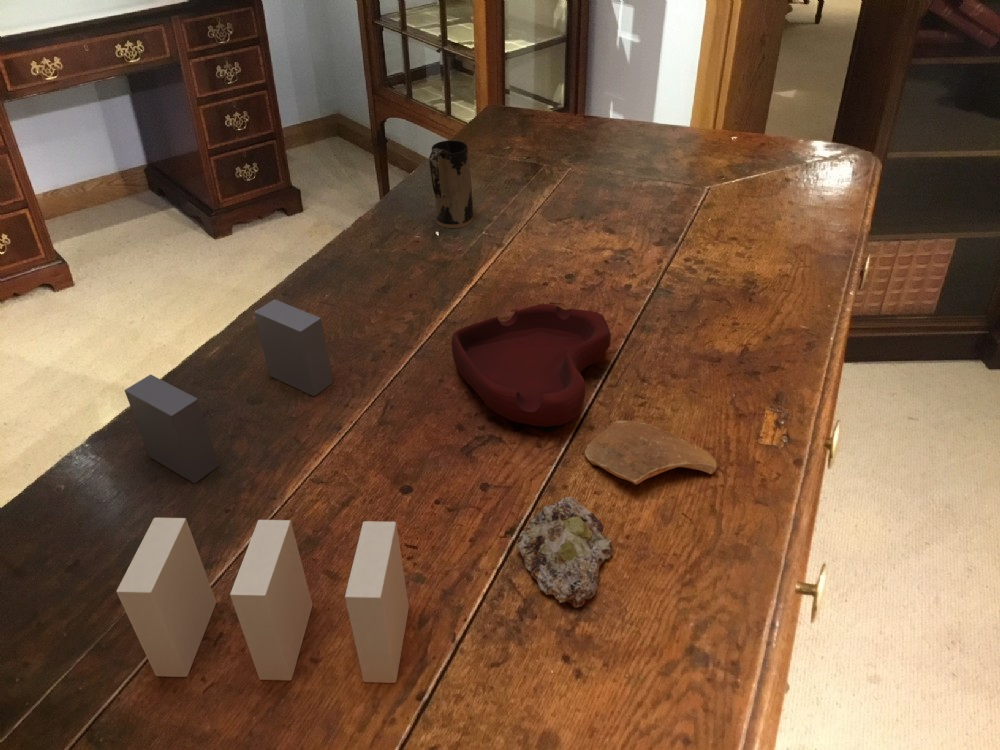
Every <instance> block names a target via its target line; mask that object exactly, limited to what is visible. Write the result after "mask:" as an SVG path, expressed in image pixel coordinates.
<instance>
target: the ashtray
mask: <svg viewBox="0 0 1000 750" xmlns="http://www.w3.org/2000/svg"><path fill="white" fill-rule="evenodd" d="M611 339H612V335H611V331H610V327H609V325H608V322H607V320H606V318H605V317H604V315H603V314H601V313H599V312H597V311H594V310H593V311H592V310H586V309H577V308H570V309H564V308H561V307H560V306H559V305H554V304H549V303H539V304H535V305H532V306H528V307H525V308H520V309H518V310H515V311H514V312H513V314H512V316H511V318H509V319H508V320H505V321H501V320H500V319H499V317H498V316H493V317H491V318H487V319H484V320H482V321H478V322H476V323H473V324H470V325H467V326H465V327H461V328H460V329H457V330H456V331H454V332H453V333H452V336H451V352H452V359H453V362H454V365H455V368H456V370H457V372H458V374H459V376H461V377H462V379H463V380H464V381H465V382H466V383H467V384H468V385H469V386H470V387H471V388H472V390H473V391H474V392H475V394H477V395H478V396H479V397H480V398H481V400H482V401H483V403H484V404H485V405H486V407H488V408H489V409H490V410H491V411H493V412H494V413H496V414H498V415H499V416H501V417H503V418H505V419H507V420H509V421H512V422H514V423H518V424H524V425H530V426H534V428H535V429H537V430H538V431H541V432H546V433H548V432H554V431H557V430H559V429H561V426H562V425H564V424H566V423H568V422H570V421H572V420H573V419H575V418H576V417H577V416H578V415H579V413H580V412H581V410H582V409H583V406H584V401H585V398H586V382H585V379H584V377H583V376H582V374H581V373H582V372H583V371H584V369H586V368H587V367H589V366H591V365H593V364H595V363H597V362H598V361H599V360H601V359H602V358H603V356H605V354H606V353H607V351H608V350H609V348H610V346H611Z"/></svg>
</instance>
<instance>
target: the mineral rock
mask: <svg viewBox="0 0 1000 750" xmlns="http://www.w3.org/2000/svg"><path fill="white" fill-rule="evenodd" d="M604 528H605V527H604V524H603V522H602V521H601V520H599V519H598V518H597V516H596V515H595V514H594V512H590V511H589V510H588V508H586V506H584V505H583V504H581V503H580V502H579V501H578V500H577V499H576V498H575V497H573V496H567V497H565V496H564V497H563V498H562V499H561V500H559V501H557V502H554V503H553V504H552V505H548V506H544V507H542V509H541V510H540V511H539V512H538V513H537V514H536V515H535V516H534V517H533V518H531V519H530V521H528V526H526V529H525V530H522V531H521V532H520V534H519V538H520V541H519V542H518V543H517V544H516V545H515V547H516V550H517V551H518V552H519V554H520V557H521V558H522V559H523V563H524V565H525V568H526V569H527V571H528V572H529V575H530V576H531V577H532V578H533V579H535V581H536V583H537V587H538V588H539V590H540V592H543V593H544V594H545V596H548V595H549V596H550V595H552V596H554V598H555V599H556V600H557V601H558V602H559V604H564V603H569V604H570V605H571V606H572V607H573V608H574V609H578V608H580V607H583V605H584V604H585V603H586V600H591V599H592V598H593V597H594V596H595V595H596V594H597V591H598V588H599V587H598V585H599V583H600V567H601V565H602V564H603V563H604V562H605V561H606V560H608V559H611V557H612V556H611V555H612V554H613V552H614V548H613V545H612V543H613V540H611V539H610V538H608V537H607V536H605V535H604V534H603V532H604Z"/></svg>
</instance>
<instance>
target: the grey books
mask: <svg viewBox="0 0 1000 750" xmlns="http://www.w3.org/2000/svg"><path fill="white" fill-rule="evenodd" d="M253 314H254V319H255V322H256V327H257V331H258V334H259V339H260V343H261V347H262V351H263V354H264V359H265V363H266V367H267V372H268V375H269V377H271V378H273V379H275V380H278V381H279V382H281V383H284V384H286V385H288V386H290V387H292V388H295V389H297V390H299V391H301V392H302V393H305V394H307V395H309V396H311V397H315V396H317V395H318V394H320V393H321V392H323V391H324V390H325V389H327V388H328V387H330V386H331V385H332V384H333V383H334V379H333V374H332V369H331V364H330V358H329V354H328V348H327V343H326V336H325V332H324V326H323V321H322V318H321V317H319V316H317V315H315V314H312V313H309V312H307V311H305V310H303V309H300V308H298V307H295V306H293V305H290V304H287V303H285V302H283V301H280V300H278V299H276V298H275V299H273V300H271V301H269V302H268V303H266V304H264V305H263V306H261V307H259V308H258V309H256V310H255V311H253ZM124 394H125V395H126V398H127V401H128V405H129V406H130V410H131V412H132V415H133V417H134V420H135V422H136V425H137V428H138V429H139V433H140V435H141V438H142V441H143V444H144V447H145V448H146V452H147V454H148V457H149V458H151V459H152V460H153V461H155V462H157V463H158V464H160V465H161V466H164V467H166V468H167V469H169V470H170V471H172V472H174V473H175V474H177V475H179V476H181V477H183V478H184V479H186V480H187V481H189V482H191V483H192V484H196V483H198V482H199V481H200V480H202V479H203V478H205V477H206V476H207V475H209V474H210V473H212V472H213V471H214V470H215V469H217V468H218V467H219V462H218V459H217V456H216V453H215V450H214V447H213V443H212V439H211V437H210V433H209V431H208V428H207V425H206V420H205V417H204V414H203V411H202V407H201V405H200V402H199V399H198V398H197V397H196V396H193V395H192V394H190V393H187V391H184V390H182V389H180V388H178V387H177V386H174V385H172V384H170V383H169V382H167V381H165V380H163V379H161V378H159V377H158V376H155V375H153V374H149V375H147V376H145V377H143V378H142V379H140V380H138V381H137V382H135V383H134V384H132V385H130V386H129V387H127V388H125V389H124Z"/></svg>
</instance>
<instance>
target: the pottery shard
mask: <svg viewBox="0 0 1000 750" xmlns="http://www.w3.org/2000/svg"><path fill="white" fill-rule="evenodd" d="M584 456H585V457H586V459H587V461H589V462H590V464H591V465H594V466H597V467H600V468H602V469H603V470H604V471H606V472H608V473H610V474H612V475H613V476H615V477H617V478H620V479H622V480H625V481H628V482H630V483H632V484H634V485H639V484H641V483H642V482H643V481H646V480H647V479H650V478H653V477H655V476H657V475H659V474H663V473H664V472H667V471H669V470H673V469H676V468H685V469H691V470H697V471H701V472H704V473H707V474H709V475H712V474H714V473H715V472H716V470H717V460H716V459H715V458H714V456H713V455H711V454H710V453H709V452H708V451H707V450H706V449H705V450H704V449H703V448H701V447H699V446H697V445H695V444H693V443H691V442H689V441H687V440H684V439H682V438H681V437H679V436H677V435H675V434H673V433H671V432H668V431H667V430H664V429H662V428H659V427H657V426H654V425H652V424H649V423H647V422H639V421H633V420H615V421H614V422H613V423H611V424H610V425H609V426H608V427H607V428H605V429H604V430H603V431H602V432H600V434H599V435H597V436H596V437H595V438H594V439H592V440H591V441H590V442H588V444H587V446H586V449H585V451H584Z"/></svg>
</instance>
